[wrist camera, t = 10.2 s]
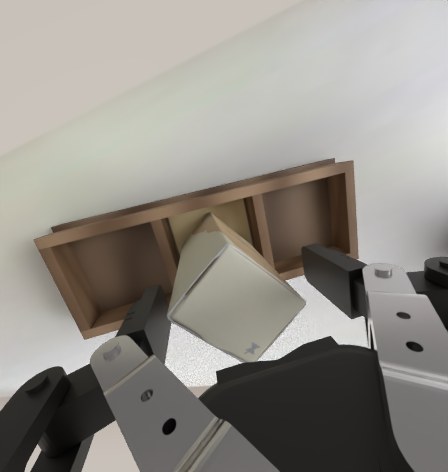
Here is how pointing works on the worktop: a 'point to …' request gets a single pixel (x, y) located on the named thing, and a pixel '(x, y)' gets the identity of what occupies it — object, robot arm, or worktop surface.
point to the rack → (180, 228)
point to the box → (230, 293)
